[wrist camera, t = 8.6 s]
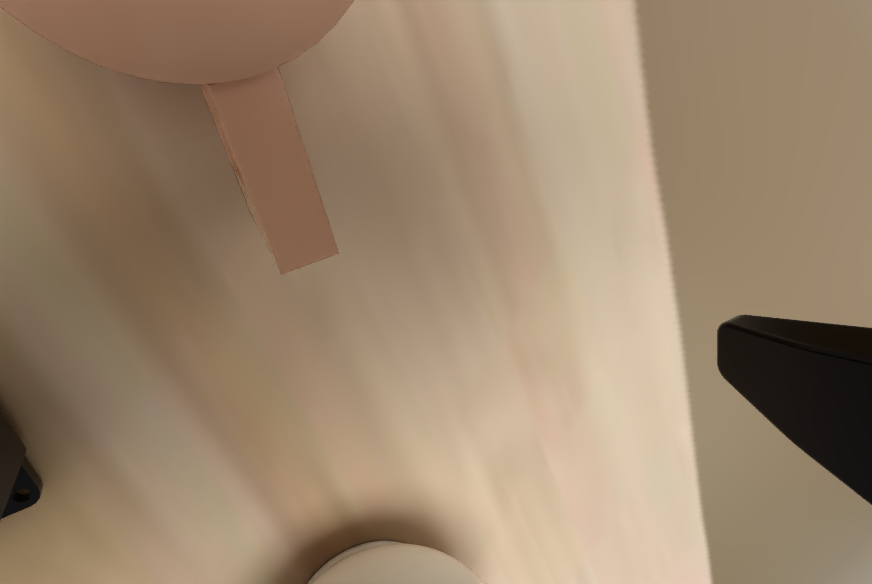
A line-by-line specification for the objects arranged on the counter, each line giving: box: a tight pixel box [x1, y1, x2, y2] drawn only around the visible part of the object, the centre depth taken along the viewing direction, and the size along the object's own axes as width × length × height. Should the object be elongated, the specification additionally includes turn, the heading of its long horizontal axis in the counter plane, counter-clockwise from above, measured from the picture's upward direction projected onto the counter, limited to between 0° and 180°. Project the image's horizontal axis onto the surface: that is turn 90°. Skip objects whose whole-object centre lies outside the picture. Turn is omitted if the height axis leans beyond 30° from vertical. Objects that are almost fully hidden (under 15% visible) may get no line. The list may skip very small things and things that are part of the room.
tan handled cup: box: [0, 0, 354, 274], centre depth 12 cm, size 6×10×9 cm, turn 12°
